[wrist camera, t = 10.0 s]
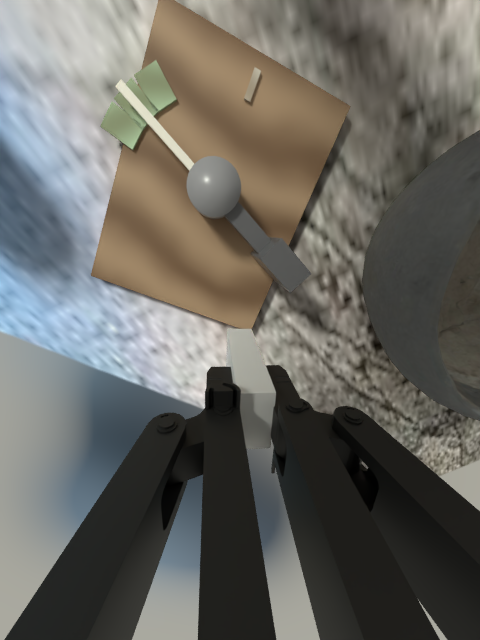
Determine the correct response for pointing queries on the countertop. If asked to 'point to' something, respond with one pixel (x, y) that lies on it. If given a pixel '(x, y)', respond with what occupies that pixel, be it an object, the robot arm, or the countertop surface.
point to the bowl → (432, 279)
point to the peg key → (227, 203)
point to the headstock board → (201, 141)
